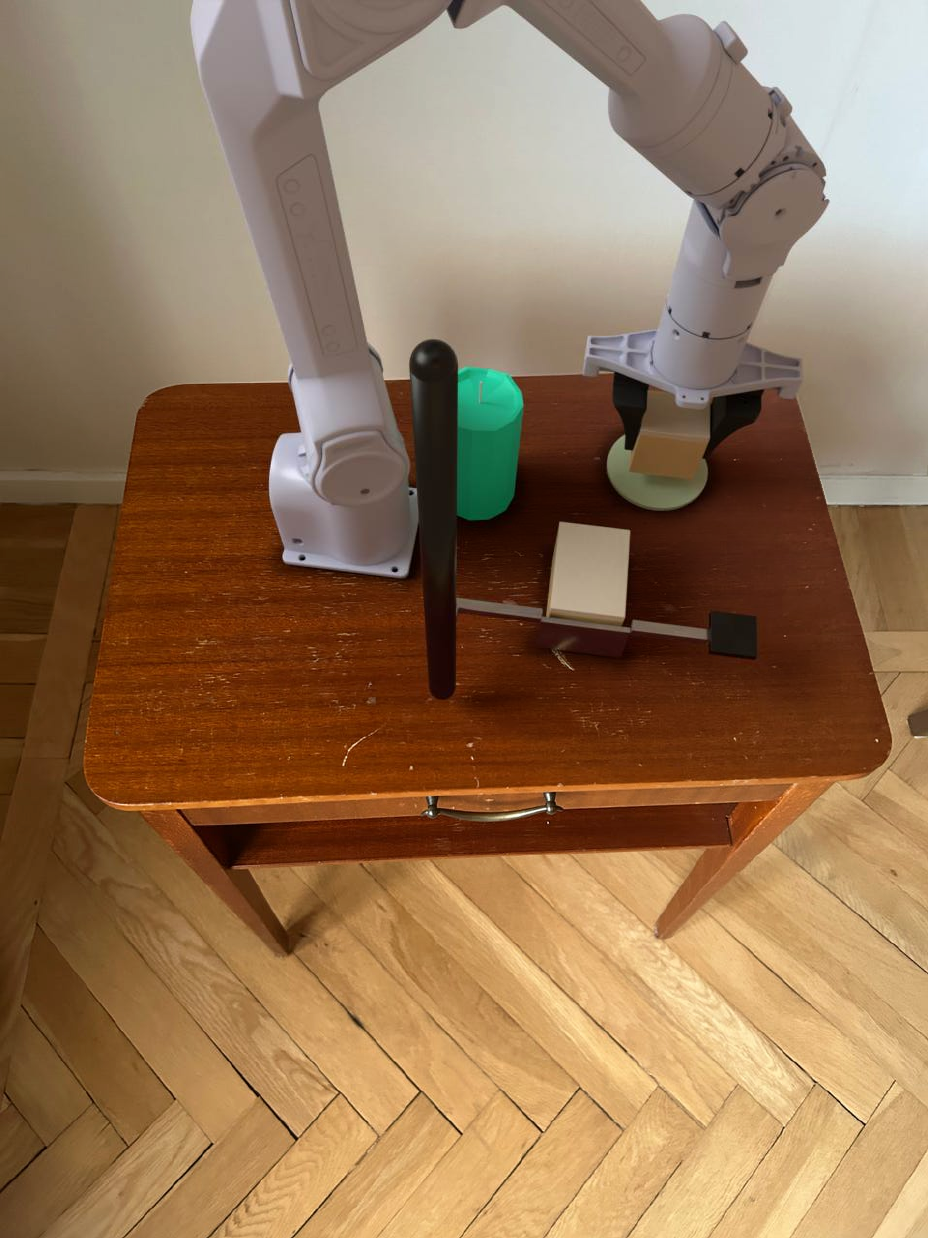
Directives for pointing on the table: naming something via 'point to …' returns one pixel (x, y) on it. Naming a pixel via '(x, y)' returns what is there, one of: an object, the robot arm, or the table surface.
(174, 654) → the table surface
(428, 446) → the black upright rod
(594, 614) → the tall beige cuboid
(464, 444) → the candle
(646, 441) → the beige block
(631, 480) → the plate
